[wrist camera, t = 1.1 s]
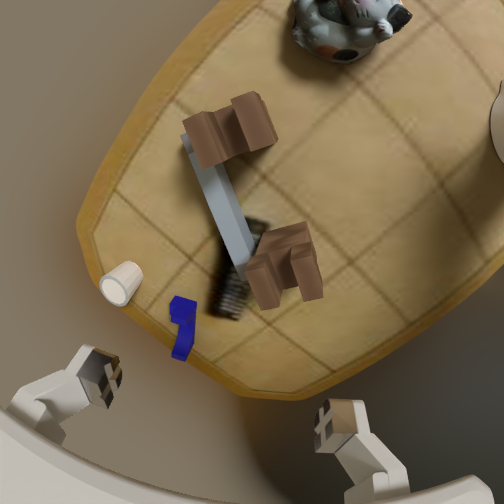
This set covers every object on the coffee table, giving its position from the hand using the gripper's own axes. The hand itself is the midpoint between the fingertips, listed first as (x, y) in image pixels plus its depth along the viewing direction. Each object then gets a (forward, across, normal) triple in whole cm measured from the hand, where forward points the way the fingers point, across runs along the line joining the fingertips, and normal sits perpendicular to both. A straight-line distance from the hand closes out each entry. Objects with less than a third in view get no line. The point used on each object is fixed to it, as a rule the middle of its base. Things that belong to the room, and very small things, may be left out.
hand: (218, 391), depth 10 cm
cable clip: (+37, +10, +31) cm, 49 cm away
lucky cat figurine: (+34, -6, -28) cm, 44 cm away
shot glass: (+38, +23, +23) cm, 50 cm away
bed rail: (+36, +5, +4) cm, 36 cm away
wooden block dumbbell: (+35, -1, 0) cm, 35 cm away
